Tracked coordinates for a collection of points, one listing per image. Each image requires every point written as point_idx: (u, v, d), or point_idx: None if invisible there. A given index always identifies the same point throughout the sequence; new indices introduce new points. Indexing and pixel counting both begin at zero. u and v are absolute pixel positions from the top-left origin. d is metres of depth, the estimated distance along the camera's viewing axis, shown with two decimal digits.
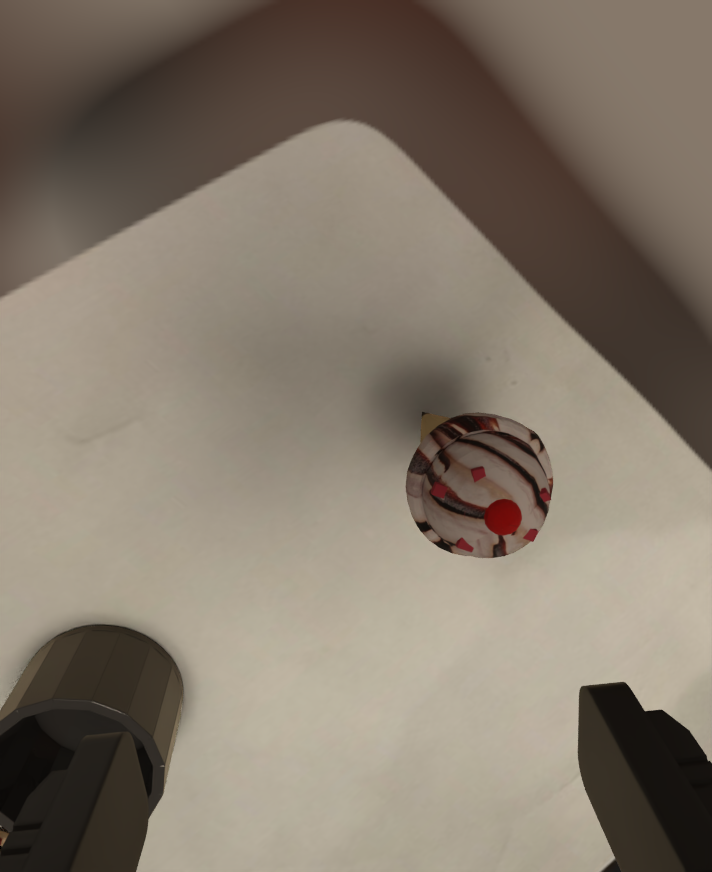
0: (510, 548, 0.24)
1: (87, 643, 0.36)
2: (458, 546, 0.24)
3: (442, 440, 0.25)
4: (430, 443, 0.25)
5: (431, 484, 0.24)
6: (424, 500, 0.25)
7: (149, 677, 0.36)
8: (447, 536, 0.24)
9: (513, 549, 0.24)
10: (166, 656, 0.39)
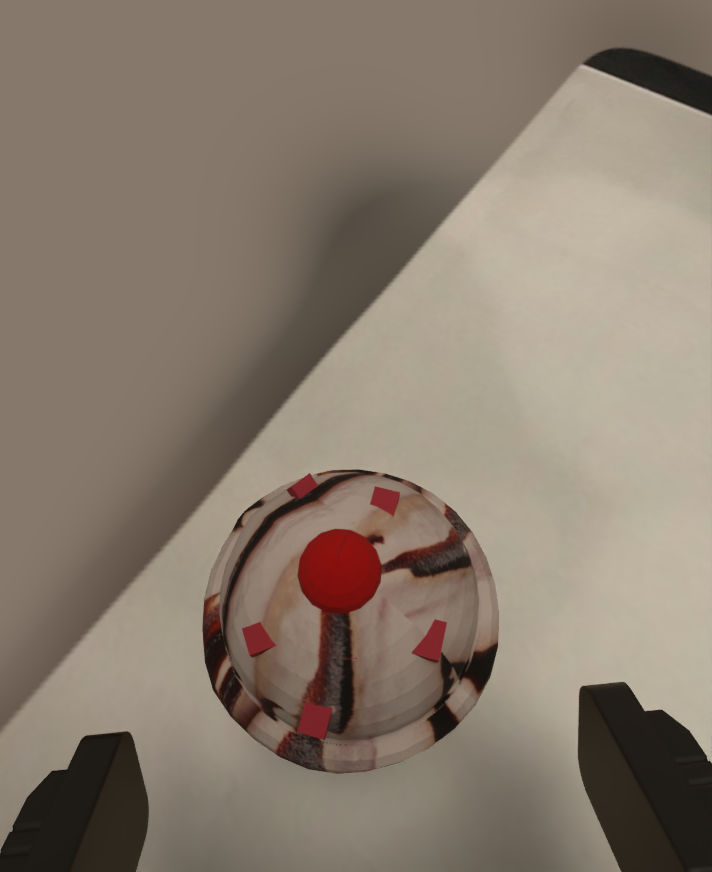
0: (424, 536, 0.11)
1: None
2: (436, 657, 0.10)
3: (246, 708, 0.12)
4: (255, 734, 0.12)
5: None
6: (370, 736, 0.11)
7: None
8: (426, 681, 0.11)
9: (427, 528, 0.11)
10: None
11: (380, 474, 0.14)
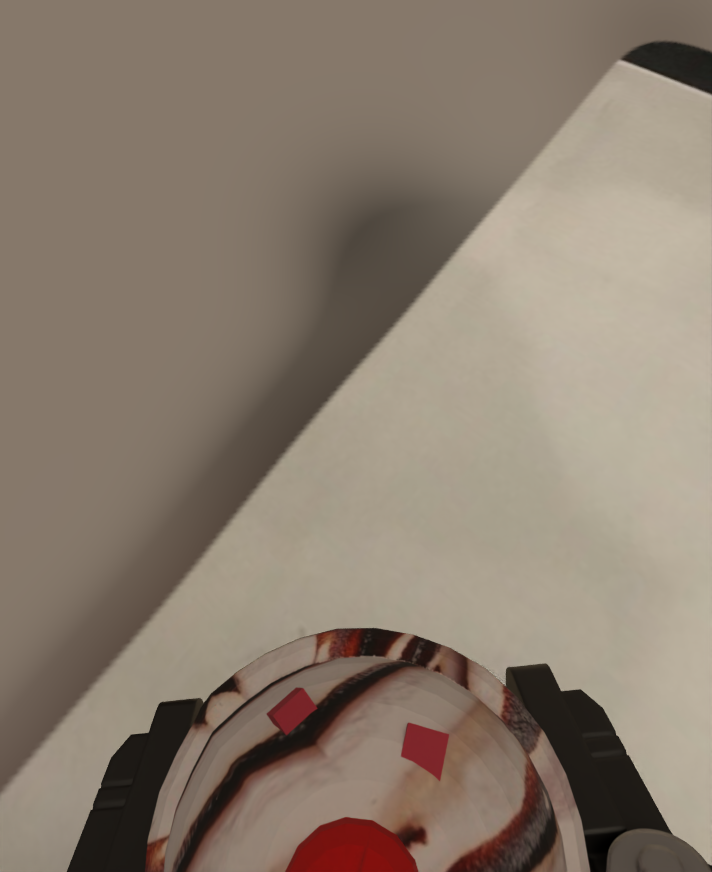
0: (490, 814, 0.07)
1: None
2: None
3: None
4: None
5: None
6: None
7: None
8: None
9: (494, 793, 0.07)
10: None
11: (407, 637, 0.10)
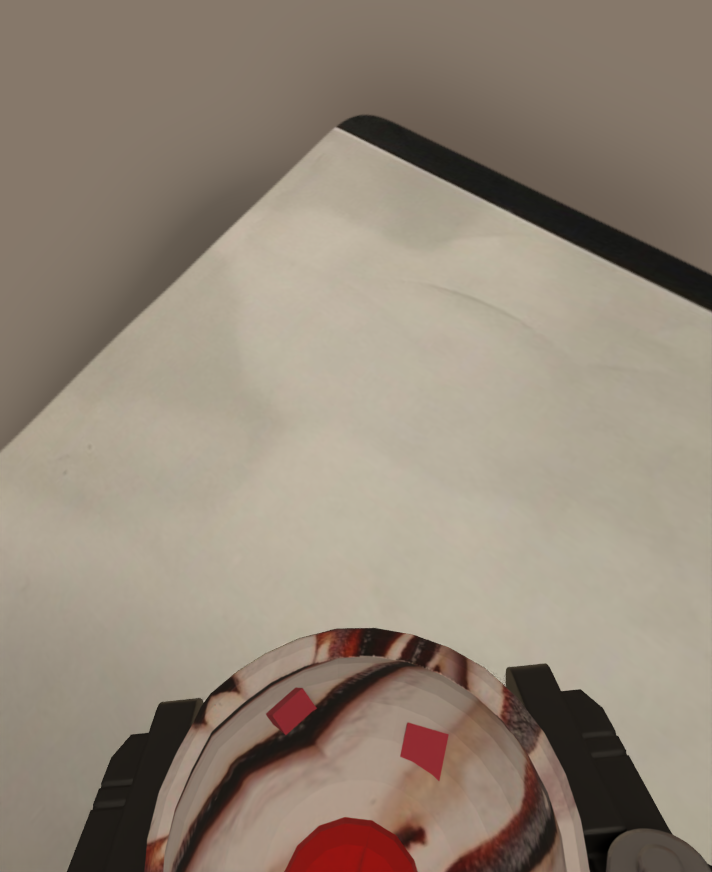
0: (489, 814, 0.07)
1: None
2: None
3: None
4: None
5: None
6: None
7: None
8: None
9: (494, 792, 0.07)
10: None
11: (407, 637, 0.10)
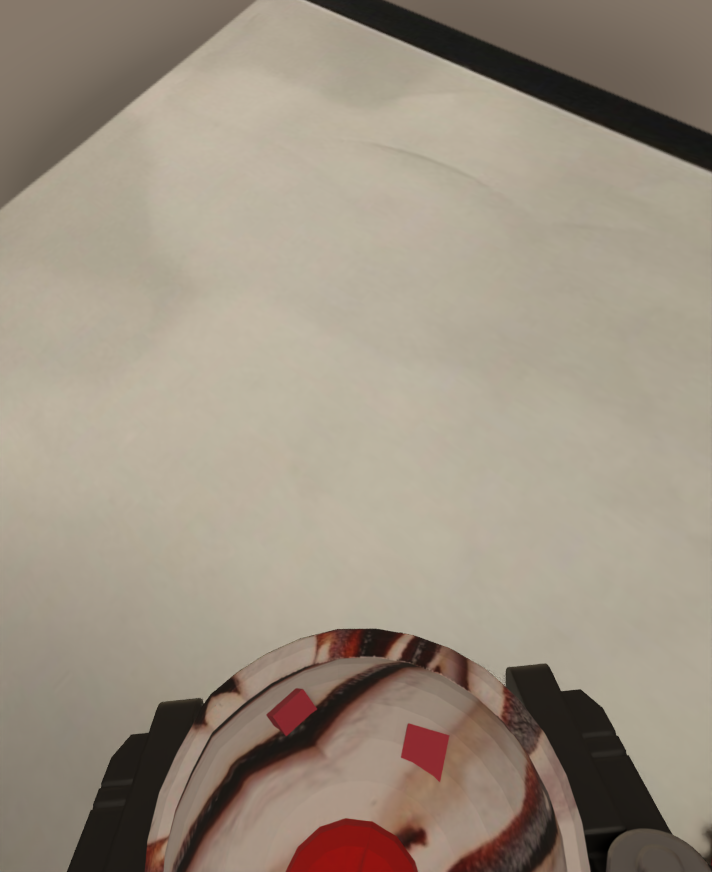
0: (490, 815, 0.07)
1: None
2: None
3: None
4: None
5: None
6: None
7: None
8: None
9: (495, 794, 0.07)
10: None
11: (407, 638, 0.10)
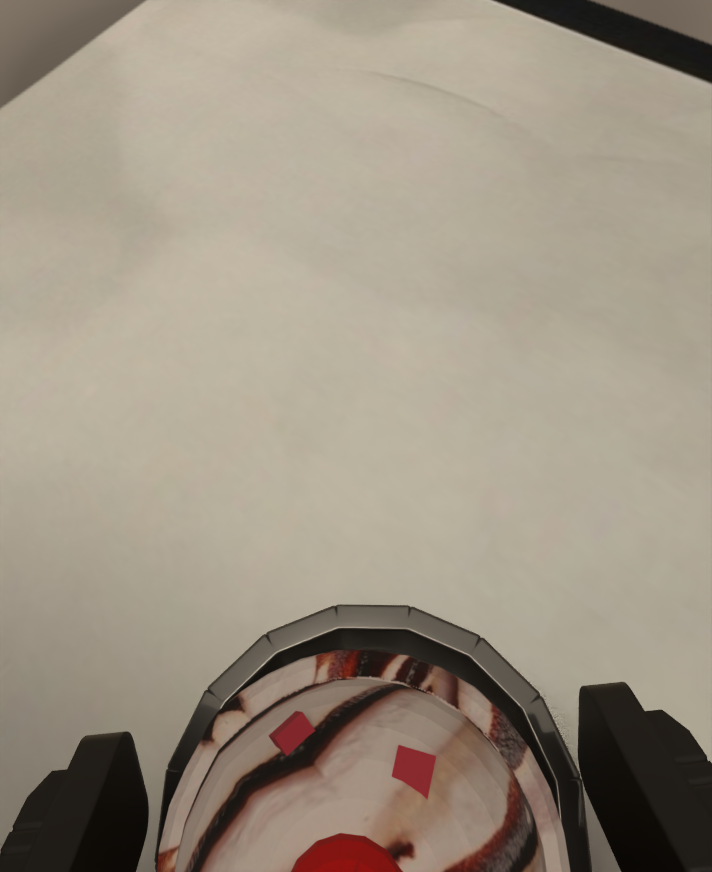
0: (473, 830, 0.07)
1: None
2: None
3: None
4: None
5: None
6: None
7: None
8: None
9: (479, 810, 0.07)
10: None
11: (402, 659, 0.10)
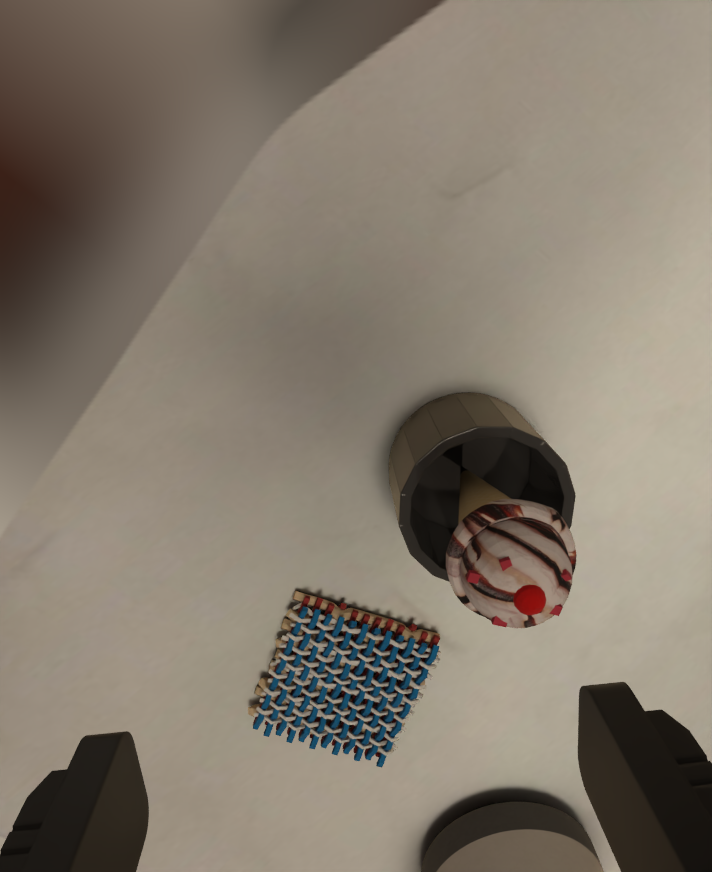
0: (539, 621, 0.27)
1: (465, 401, 0.37)
2: (493, 623, 0.28)
3: (473, 528, 0.29)
4: (463, 531, 0.29)
5: (466, 569, 0.28)
6: (462, 581, 0.29)
7: None
8: (484, 613, 0.28)
9: (542, 621, 0.28)
10: None
11: None
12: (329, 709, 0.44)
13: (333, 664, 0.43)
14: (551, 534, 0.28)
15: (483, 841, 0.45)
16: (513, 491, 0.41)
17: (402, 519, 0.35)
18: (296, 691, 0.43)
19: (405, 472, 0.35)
